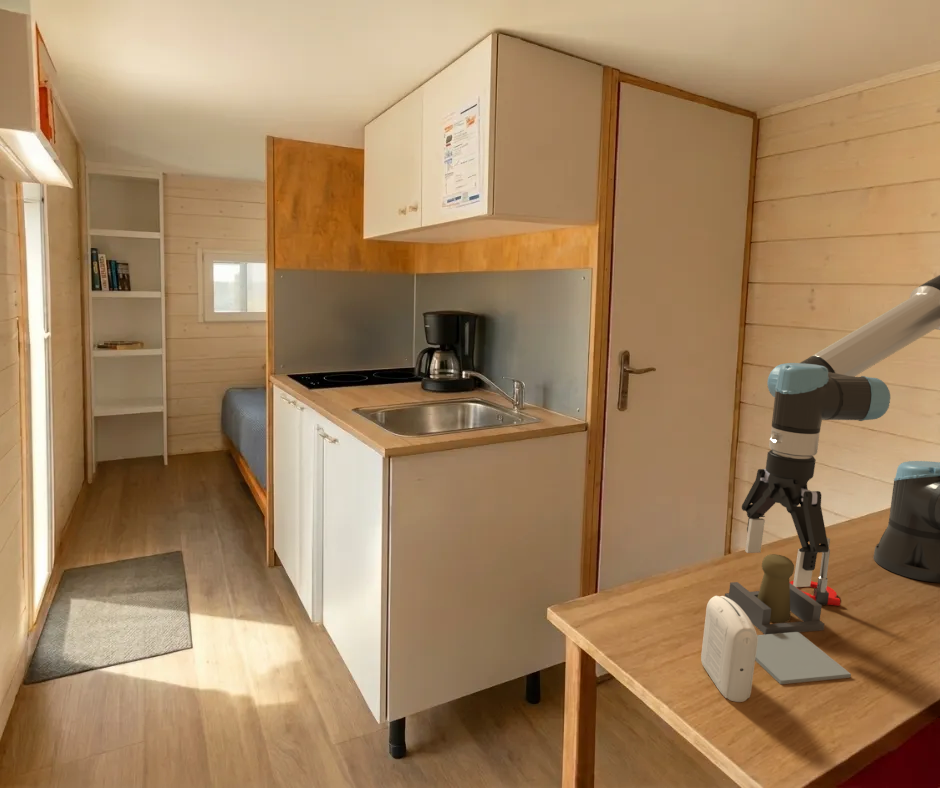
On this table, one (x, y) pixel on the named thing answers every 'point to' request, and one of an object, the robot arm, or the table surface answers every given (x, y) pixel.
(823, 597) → the tow hook
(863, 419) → the robot arm
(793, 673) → the mat
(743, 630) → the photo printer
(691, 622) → the table surface
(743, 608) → the grey square frame
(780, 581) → the cork
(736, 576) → the table surface
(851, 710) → the table surface
